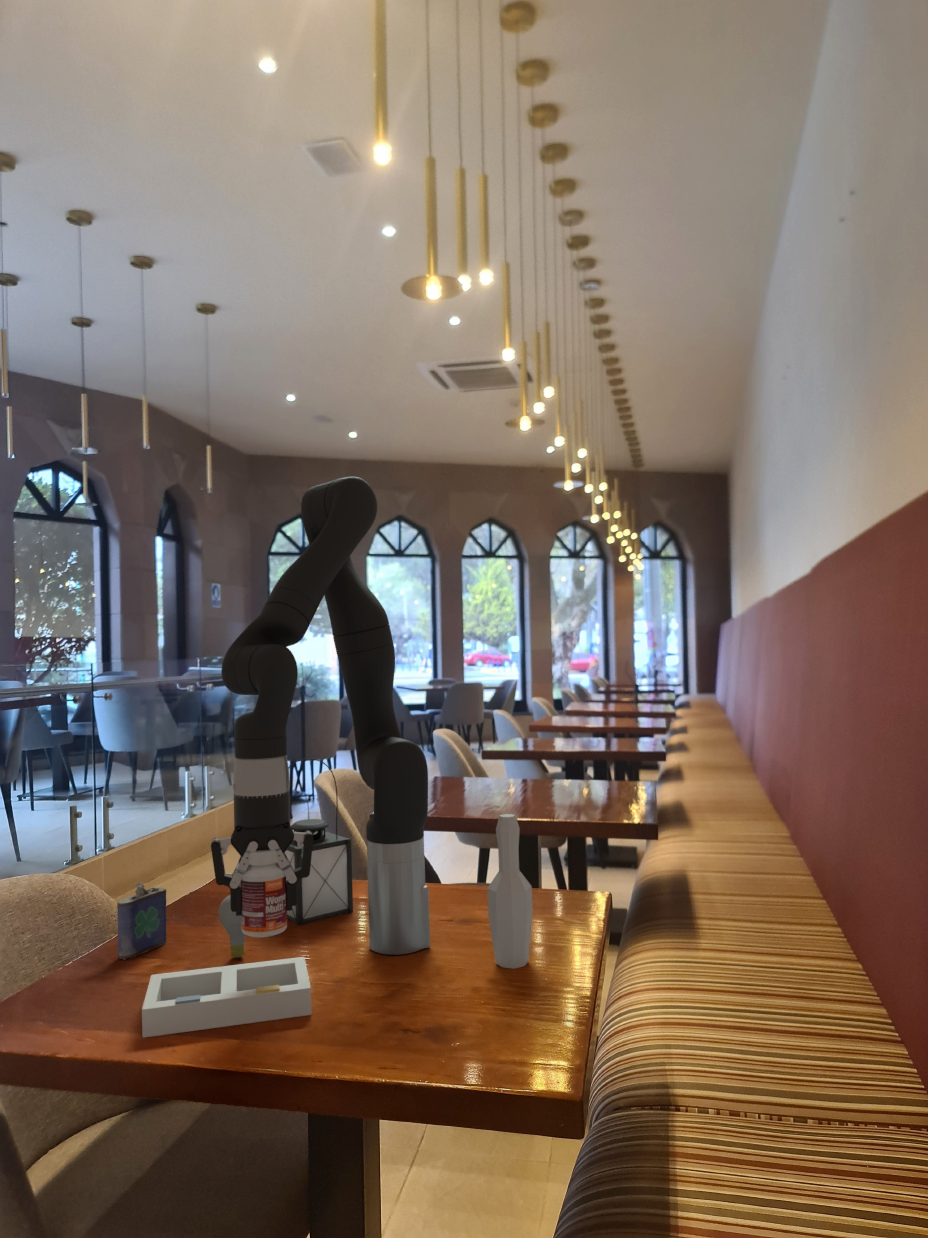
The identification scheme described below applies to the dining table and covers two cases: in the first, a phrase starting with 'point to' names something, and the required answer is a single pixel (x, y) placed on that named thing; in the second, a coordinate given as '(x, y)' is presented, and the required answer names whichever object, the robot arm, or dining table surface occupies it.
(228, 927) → the light bulb
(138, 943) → the flask
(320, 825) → the lantern
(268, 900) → the pill bottle
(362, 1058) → the dining table surface
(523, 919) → the faceted bottle
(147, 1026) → the socket block
